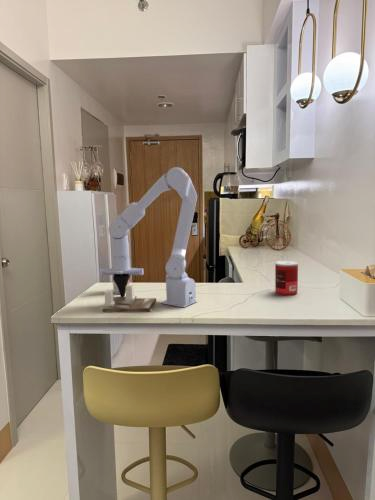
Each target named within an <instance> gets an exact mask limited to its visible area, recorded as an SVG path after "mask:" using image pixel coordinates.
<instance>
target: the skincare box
mask: <svg viewBox="0 0 375 500" xmlns="http://www.w3.org/2000/svg"><path fill="white" fill-rule="evenodd" d="M111 267H112V268H113V266H112V265H111ZM113 277H114V275H112V278H113ZM112 285H113V289H112V290H113V295H120V292H119V289H118V287H117V285H116V283H115V281H114V280H113V279H112ZM127 285H130V279H129V280H128V283H127ZM125 294H126V291H125Z"/></svg>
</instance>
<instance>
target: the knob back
mask: <svg viewBox="0 0 375 500" xmlns="http://www.w3.org/2000/svg"><path fill="white" fill-rule="evenodd" d="M125 296H126V298H125V300H134V299H135V291H134V284H129V285H127V286H126V293H125Z"/></svg>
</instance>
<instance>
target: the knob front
mask: <svg viewBox="0 0 375 500" xmlns="http://www.w3.org/2000/svg"><path fill="white" fill-rule="evenodd" d="M113 296H114V289H106V290H105V291H104V303H103V306H114V304H115V302H114V300H113Z"/></svg>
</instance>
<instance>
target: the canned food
mask: <svg viewBox="0 0 375 500" xmlns="http://www.w3.org/2000/svg"><path fill="white" fill-rule="evenodd" d="M274 266H275V270H274V272H275V274H274V275H275V276H274V277H275V279H274V280H275V281H274V282H275V284H274V287H275V294H277V295H280V296H294V295H297V294H298V291H299V290H298V288H299V286H298V281H299V277H298V276H299V262H298V261H293V260H277V261H276V262H275V265H274Z"/></svg>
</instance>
